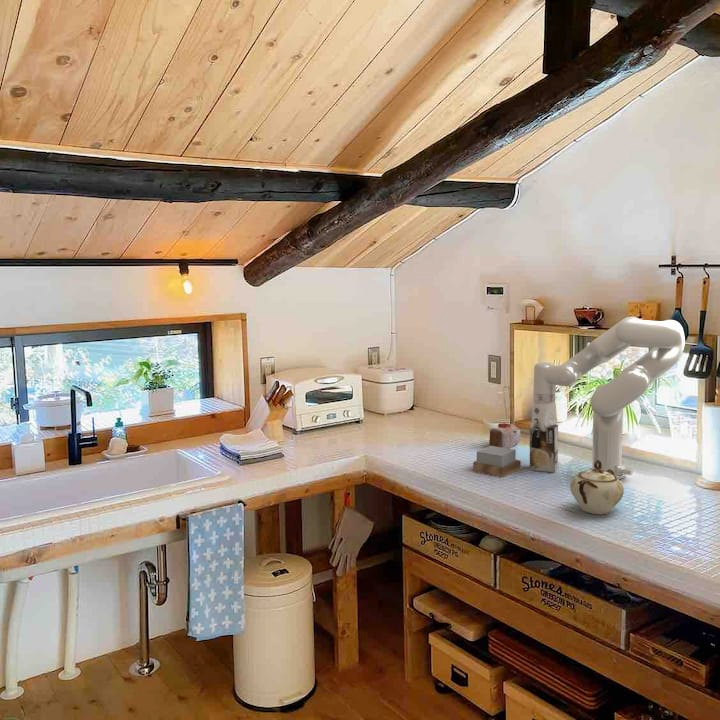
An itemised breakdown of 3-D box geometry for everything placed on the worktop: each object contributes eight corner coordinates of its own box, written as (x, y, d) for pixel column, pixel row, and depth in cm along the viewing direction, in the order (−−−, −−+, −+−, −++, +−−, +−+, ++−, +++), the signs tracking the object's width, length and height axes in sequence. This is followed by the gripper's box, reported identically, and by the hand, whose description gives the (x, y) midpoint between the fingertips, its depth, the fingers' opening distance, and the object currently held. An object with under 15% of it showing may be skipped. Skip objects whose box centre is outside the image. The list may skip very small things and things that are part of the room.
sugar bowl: (589, 496, 222) (589, 449, 220) (635, 506, 212) (637, 458, 210) (556, 512, 209) (557, 462, 207) (604, 524, 198) (605, 472, 196)
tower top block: (515, 460, 252) (515, 449, 252) (501, 467, 245) (501, 455, 244) (490, 456, 259) (490, 445, 258) (476, 462, 251) (476, 451, 251)
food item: (504, 442, 293) (505, 418, 292) (522, 445, 288) (522, 421, 287) (487, 449, 283) (487, 424, 282) (504, 452, 278) (504, 427, 277)
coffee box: (558, 468, 253) (559, 424, 251) (554, 473, 248) (555, 428, 246) (533, 465, 258) (533, 422, 256) (528, 470, 252) (529, 426, 250)
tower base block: (520, 471, 253) (520, 460, 252) (502, 479, 244) (502, 468, 244) (492, 465, 261) (492, 455, 260) (473, 473, 252) (473, 462, 252)
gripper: (541, 402, 241) (540, 452, 243) (565, 395, 253) (564, 442, 255) (521, 400, 246) (520, 448, 248) (546, 393, 258) (545, 439, 261)
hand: (542, 445), depth 252 cm, fingers open, 9 cm apart
